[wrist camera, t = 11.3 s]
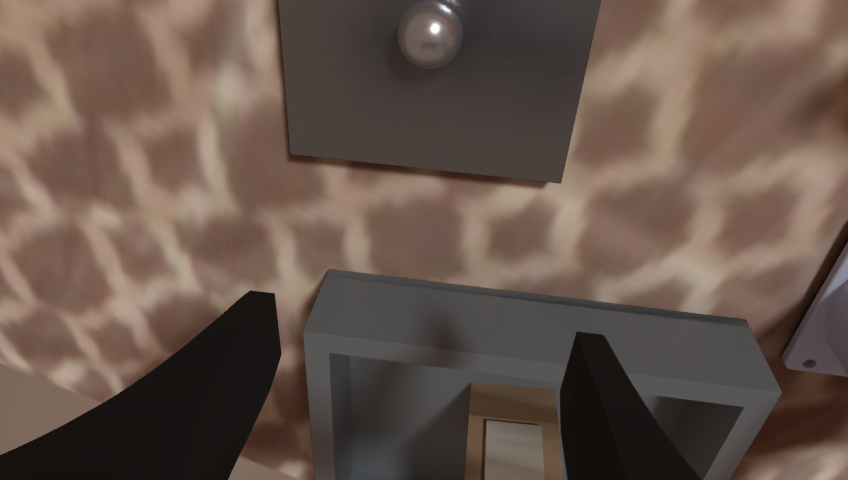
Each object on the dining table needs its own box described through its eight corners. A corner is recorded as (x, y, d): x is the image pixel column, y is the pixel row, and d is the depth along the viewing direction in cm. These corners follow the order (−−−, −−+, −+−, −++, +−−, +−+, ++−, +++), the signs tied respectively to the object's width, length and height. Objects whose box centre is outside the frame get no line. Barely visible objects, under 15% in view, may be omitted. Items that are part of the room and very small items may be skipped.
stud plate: (627, -150, 16) (647, -149, 14) (558, 170, 22) (565, 209, 20) (276, -176, 17) (239, -178, 14) (298, 142, 22) (274, 176, 20)
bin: (745, 319, 25) (782, 392, 21) (647, 515, 33) (663, 589, 30) (328, 269, 26) (303, 331, 23) (337, 471, 34) (319, 537, 31)
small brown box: (544, 442, 30) (553, 585, 24) (467, 434, 30) (457, 573, 25) (556, 385, 27) (569, 528, 22) (471, 377, 28) (462, 516, 22)
